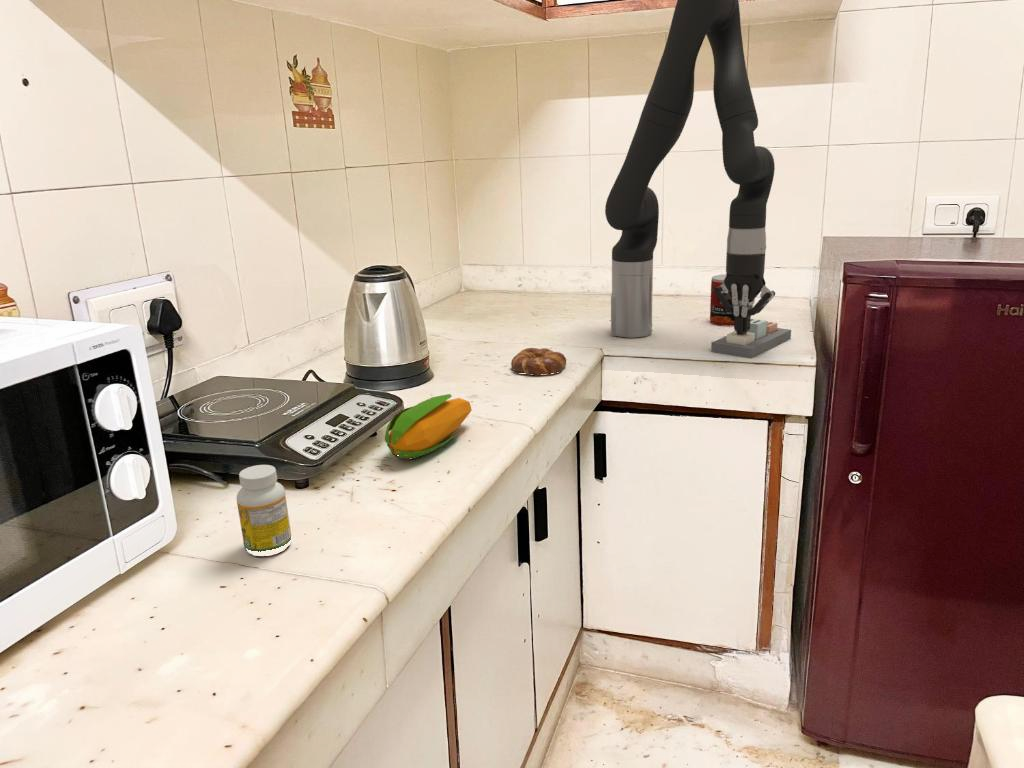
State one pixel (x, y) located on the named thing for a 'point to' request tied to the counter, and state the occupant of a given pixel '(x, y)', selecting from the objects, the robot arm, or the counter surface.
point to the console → (751, 344)
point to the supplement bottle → (262, 509)
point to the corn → (425, 426)
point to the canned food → (719, 305)
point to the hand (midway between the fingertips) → (741, 333)
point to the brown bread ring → (538, 361)
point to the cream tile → (740, 338)
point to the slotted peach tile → (771, 327)
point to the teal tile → (758, 328)
